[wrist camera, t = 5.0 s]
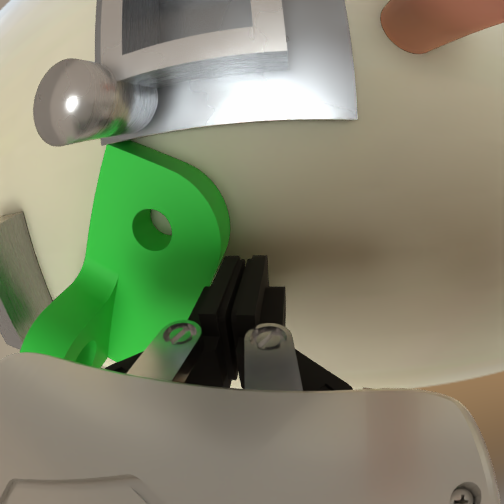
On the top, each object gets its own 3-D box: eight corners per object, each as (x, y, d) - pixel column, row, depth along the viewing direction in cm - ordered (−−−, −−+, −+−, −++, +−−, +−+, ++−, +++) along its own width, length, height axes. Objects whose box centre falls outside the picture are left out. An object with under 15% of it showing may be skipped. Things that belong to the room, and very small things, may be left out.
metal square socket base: (324, -57, 6) (335, -125, 1) (351, 120, 10) (397, 118, 5) (112, -19, 8) (46, -51, 3) (116, 142, 11) (33, 163, 7)
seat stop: (22, 211, 14) (-23, 236, 10) (60, 318, 17) (28, 352, 13) (2, 216, 14) (-39, 238, 10) (36, 313, 17) (6, 344, 14)
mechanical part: (176, 364, 17) (131, 470, 10) (96, 322, 17) (29, 409, 10) (252, 190, 12) (193, 301, 5) (131, 139, 12) (-19, 181, 4)
